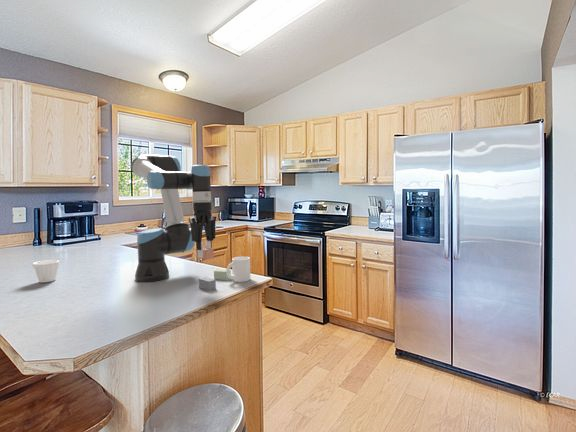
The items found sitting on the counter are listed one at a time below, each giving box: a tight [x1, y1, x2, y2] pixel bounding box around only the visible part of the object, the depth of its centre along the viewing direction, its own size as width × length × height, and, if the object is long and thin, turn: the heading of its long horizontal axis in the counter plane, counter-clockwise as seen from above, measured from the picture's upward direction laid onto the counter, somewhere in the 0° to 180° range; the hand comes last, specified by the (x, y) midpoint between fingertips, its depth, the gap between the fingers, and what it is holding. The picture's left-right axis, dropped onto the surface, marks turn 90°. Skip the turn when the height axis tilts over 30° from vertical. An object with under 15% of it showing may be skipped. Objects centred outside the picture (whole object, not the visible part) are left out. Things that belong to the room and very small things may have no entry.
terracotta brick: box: [195, 247, 215, 260], centre depth 136 cm, size 7×4×4 cm, turn 55°
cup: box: [32, 259, 60, 284], centre depth 149 cm, size 10×10×9 cm
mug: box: [225, 255, 251, 283], centre depth 147 cm, size 12×8×10 cm
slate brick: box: [198, 276, 217, 291], centre depth 137 cm, size 7×4×4 cm, turn 50°
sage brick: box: [213, 268, 232, 281], centre depth 151 cm, size 7×4×4 cm, turn 75°
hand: (204, 256), depth 136 cm, fingers closed on terracotta brick, 3 cm apart
